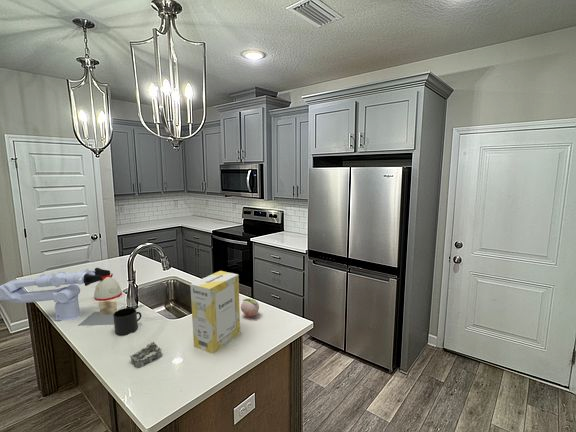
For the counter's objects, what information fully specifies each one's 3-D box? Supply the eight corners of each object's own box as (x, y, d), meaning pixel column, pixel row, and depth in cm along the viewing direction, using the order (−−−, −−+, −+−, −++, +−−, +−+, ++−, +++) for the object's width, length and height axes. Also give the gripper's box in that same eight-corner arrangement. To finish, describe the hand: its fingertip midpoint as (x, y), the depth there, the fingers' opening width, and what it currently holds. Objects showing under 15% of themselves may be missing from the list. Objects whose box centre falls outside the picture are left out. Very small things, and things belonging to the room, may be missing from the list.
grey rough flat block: (155, 349, 128) (154, 340, 128) (164, 356, 123) (163, 347, 123) (129, 361, 120) (128, 351, 120) (137, 369, 115) (136, 359, 115)
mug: (147, 327, 145) (145, 309, 144) (120, 338, 136) (118, 319, 134) (137, 320, 151) (136, 303, 149) (111, 331, 142) (109, 313, 140)
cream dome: (88, 299, 176) (85, 274, 173) (110, 290, 188) (108, 266, 186) (106, 303, 171) (103, 277, 168) (127, 293, 183) (124, 269, 181)
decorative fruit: (262, 314, 157) (262, 296, 155) (254, 321, 150) (253, 302, 148) (247, 311, 161) (246, 293, 159) (238, 318, 154) (237, 299, 152)
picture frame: (77, 326, 146) (77, 325, 146) (94, 312, 160) (94, 311, 160) (116, 325, 147) (116, 324, 147) (129, 311, 161) (129, 310, 161)
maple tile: (100, 314, 156) (98, 301, 155) (101, 313, 158) (100, 300, 157) (116, 314, 157) (114, 301, 156) (117, 313, 158) (116, 300, 157)
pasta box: (212, 353, 125) (209, 289, 120) (194, 346, 130) (190, 284, 125) (240, 332, 140) (238, 274, 136) (222, 326, 145) (220, 270, 141)
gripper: (66, 275, 144) (96, 272, 145) (85, 265, 159) (111, 263, 159) (69, 289, 146) (98, 286, 146) (87, 278, 160) (114, 275, 161)
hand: (105, 275), depth 153 cm, fingers open, 7 cm apart
